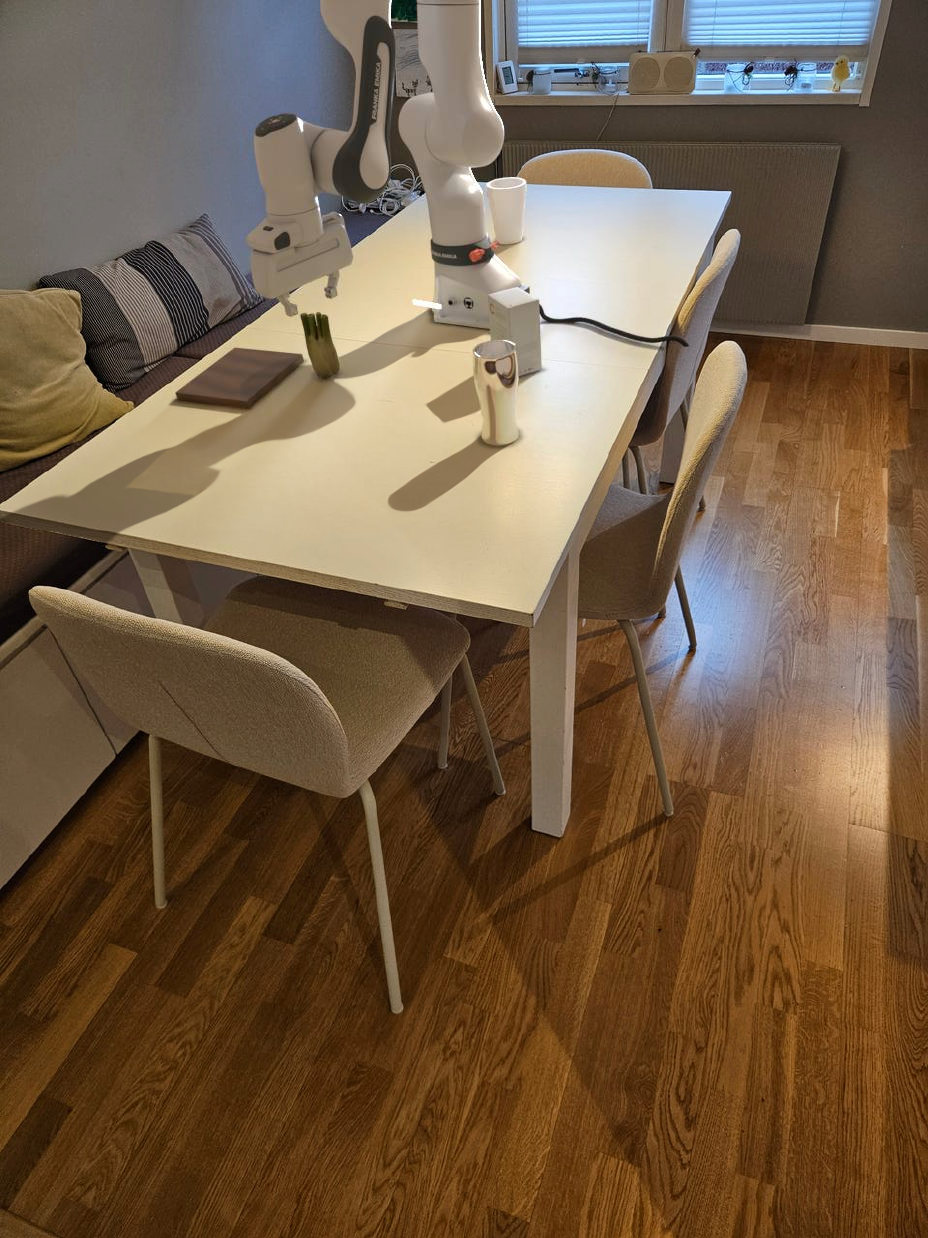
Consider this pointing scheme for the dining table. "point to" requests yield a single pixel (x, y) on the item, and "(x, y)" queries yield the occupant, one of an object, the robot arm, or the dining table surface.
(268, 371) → the cutting board
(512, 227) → the foam cup
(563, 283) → the dining table surface
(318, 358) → the fennel bulb
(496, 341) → the beer glass
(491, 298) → the small box
